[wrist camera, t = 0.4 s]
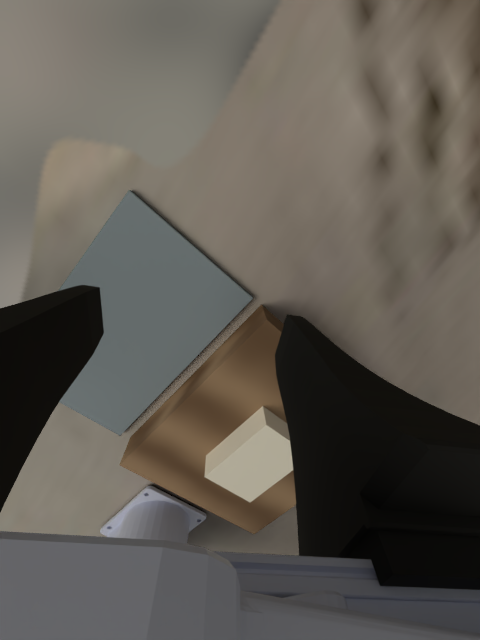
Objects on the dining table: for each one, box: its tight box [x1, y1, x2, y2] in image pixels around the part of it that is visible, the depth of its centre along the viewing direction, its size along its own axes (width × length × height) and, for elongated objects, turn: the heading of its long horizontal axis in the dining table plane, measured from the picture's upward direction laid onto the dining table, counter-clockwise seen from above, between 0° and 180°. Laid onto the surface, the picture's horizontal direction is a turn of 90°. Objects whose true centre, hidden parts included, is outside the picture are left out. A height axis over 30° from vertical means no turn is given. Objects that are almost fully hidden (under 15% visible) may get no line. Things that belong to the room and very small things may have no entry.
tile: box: [204, 406, 293, 502], centre depth 22 cm, size 7×5×2 cm
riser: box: [120, 305, 296, 534], centre depth 25 cm, size 18×16×3 cm
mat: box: [59, 190, 253, 435], centre depth 22 cm, size 18×11×1 cm, turn 137°
